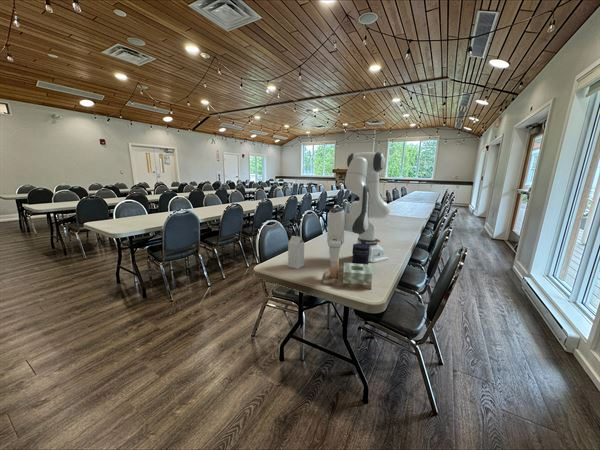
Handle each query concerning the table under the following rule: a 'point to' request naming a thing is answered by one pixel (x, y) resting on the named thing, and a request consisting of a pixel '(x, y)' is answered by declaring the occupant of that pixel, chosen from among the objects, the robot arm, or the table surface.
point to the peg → (334, 270)
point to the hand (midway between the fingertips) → (334, 264)
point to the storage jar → (360, 253)
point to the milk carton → (296, 252)
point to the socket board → (340, 280)
